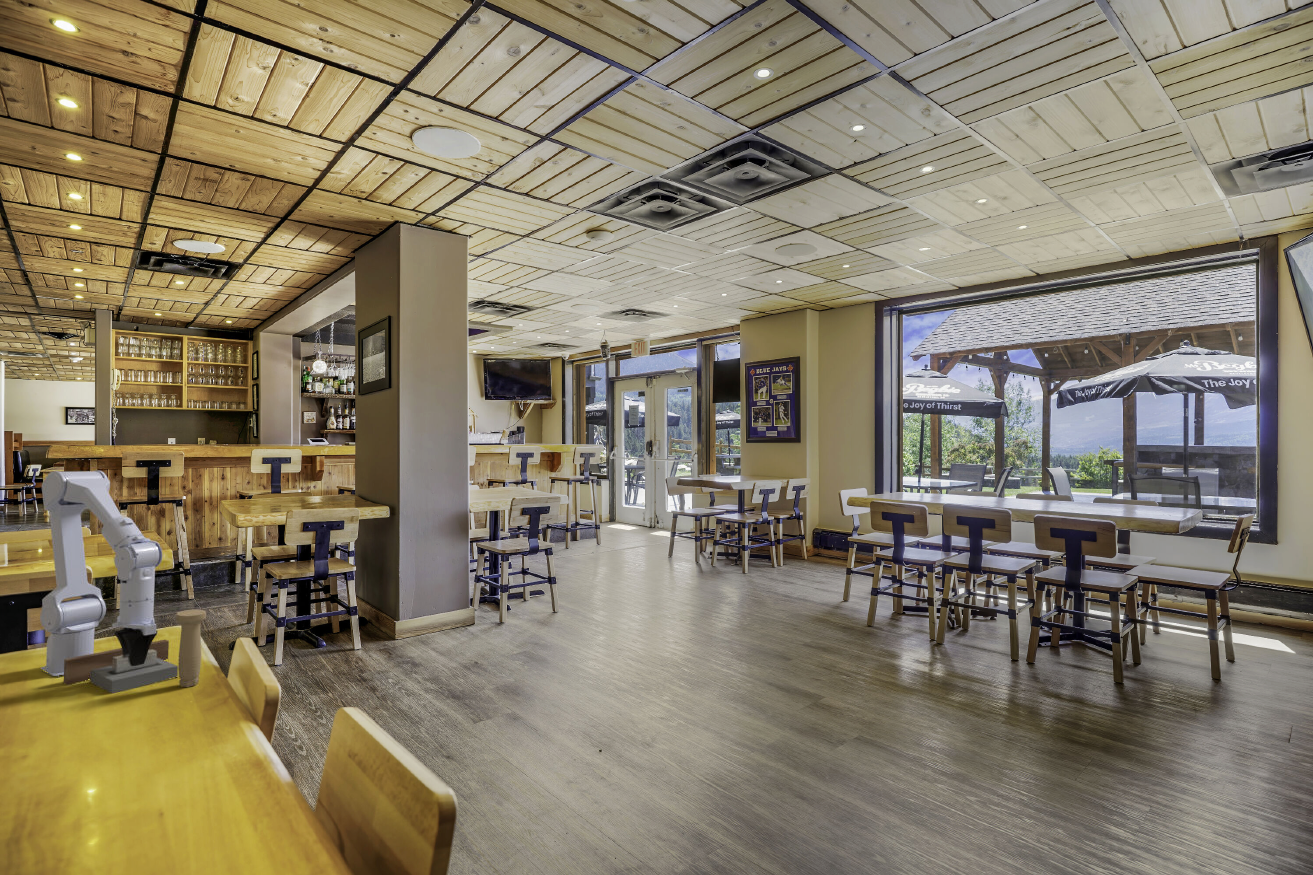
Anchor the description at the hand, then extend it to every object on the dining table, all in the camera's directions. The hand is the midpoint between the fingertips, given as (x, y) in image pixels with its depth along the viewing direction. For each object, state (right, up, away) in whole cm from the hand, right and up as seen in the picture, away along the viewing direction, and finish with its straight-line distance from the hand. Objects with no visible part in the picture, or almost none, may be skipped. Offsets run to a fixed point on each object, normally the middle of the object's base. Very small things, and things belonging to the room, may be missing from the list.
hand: (134, 663), depth 140 cm
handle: (+14, -4, -3) cm, 14 cm away
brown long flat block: (-7, -4, +4) cm, 9 cm away
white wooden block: (0, -3, 0) cm, 3 cm away
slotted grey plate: (0, -3, 0) cm, 3 cm away
